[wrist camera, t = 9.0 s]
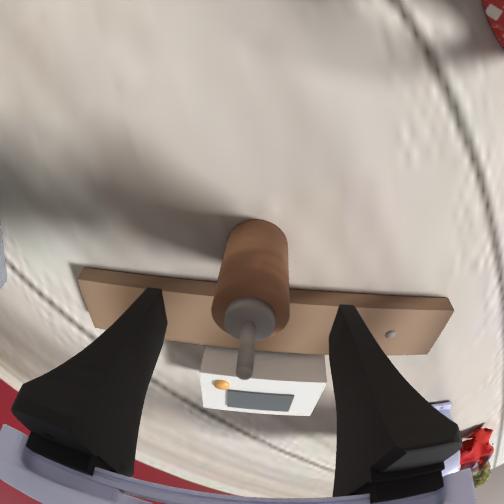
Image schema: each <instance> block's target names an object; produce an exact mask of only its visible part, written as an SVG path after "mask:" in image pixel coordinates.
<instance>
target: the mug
mask: <svg viewBox="0 0 504 504" xmlns="http://www.w3.org/2000/svg"><path fill="white" fill-rule="evenodd" d="M482 2H483V6H484V9H485V12H486V15H487V18H488V20H489V23H490V25H491V27H492V30H493V31H494V33H495V35H496V37H497V39H498V40H499V42H500V43H501V45H502V46H503V48H504V0H482Z"/></svg>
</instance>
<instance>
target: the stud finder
mask: <svg viewBox="0 0 504 504" xmlns="http://www.w3.org/2000/svg"><path fill="white" fill-rule="evenodd" d="M237 357H238V349H235V348H225V347H216V346H208V345H205V348H204V353H203V358H202V363H201V367H200V382H201V392H202V401H203V407H205V408H212V409H220V410H229V411H238V412H248V413H260V414H275V415H294V416H310V415H311V413H312V411H313V409H314V407H315V405H316V403H317V401H318V400H319V398H320V396H321V394H322V392H323V390H324V388H325V386H326V383H327V379H326V368H325V358H324V354H301V353H284V352H270V351H257V350H255V355H254V367H253V375H252V376H251V378H249V379H247V380H241V379H239V378H238V377H237V375H236V365H237Z"/></svg>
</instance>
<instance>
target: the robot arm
mask: <svg viewBox="0 0 504 504" xmlns="http://www.w3.org/2000/svg"><path fill="white" fill-rule="evenodd" d="M167 324H168V321H167V316H166V311H165V305H164V299H163V293H162V289H159V288H151V287H148V288H146V289H145V290H144V291H143V293H142V294H141V295H140V296H139V297H138V298H137V299H136V300H135V301H134V302H133V303H132V304H131V306H130V307H129V308H128V309H127V310H126V311H125V312H124V313H123V314H122V315H121V316H120V317H119V318H118V319H117V320H116V321H115V322H114V323H113V324H112V325H111V326H110V327H109V328H108V329H107V330H106V331H105V332H104V333H103V334H101V335H100V336H99V337H98V338H97V339H96V340H95V341H93V342H92V343H91V344H90V345H89V346H87V347H86V348H85V349H84V350H82V351H81V352H79V353H78V354H77V355H75V356H74V357H72V358H71V359H69V360H68V361H66V362H65V363H63V364H62V365H60V366H58V367H57V368H55V369H53V370H51V371H50V372H48V373H46V374H44V375H42V376H40V377H38V378H36V379H33V380H31V381H29V382H27V383H24V384H23V385H22V387H21V389H20V391H19V393H18V395H17V397H16V399H15V401H14V404H13V406H12V408H11V410H12V413H13V415H14V416H15V417H16V418H17V419H18V420H19V421H20V422H21V423H22V424H23V425H24V426H25V427H27V428H28V429H29V430H30V431H31V433H30V435H29V437H28V436H27V435H25V434H24V433H22V432H20V431H18V430H16V429H14V428H12V427H10V426H8V425H6V424H4V425H3V427H2V429H1V431H0V479H1V480H3V481H4V482H6V483H7V484H9V485H11V486H12V487H14V488H16V489H17V490H19V491H21V492H23V493H25V494H26V495H28V496H30V497H32V498H33V499H35V500H37V501H39V502H41V503H43V504H153V503H151V502H147V501H144V500H141V499H138V498H135V497H132V496H129V495H133V496H137V497H141V498H144V499H149V500H153V501H157V502H162V503H167V504H477V501H476V495H475V489H474V483H473V478H472V473H471V469H470V468H468V469H464V470H461V471H458V469H459V465H460V449H461V447H462V446H463V444H462V439H461V435H460V431H459V428H458V425H457V424H456V423H455V422H453V420H452V417H451V413H450V408H451V407H452V406H453V404H452V402H446V403H439V404H430V403H429V402H428V401H426V400H425V399H424V398H423V397H422V396H421V395H420V394H419V393H418V392H417V391H416V390H415V389H414V388H413V387H412V386H411V385H410V384H409V383H408V382H407V381H406V380H405V378H404V377H403V376H402V375H401V374H400V373H399V371H398V370H397V369H396V368H395V366H394V365H393V364H392V363H391V361H390V360H389V358H388V357H387V356H386V354H385V353H384V351H383V350H382V349H381V347H380V346H379V344H378V343H377V341H376V340H375V338H374V337H373V335H372V333H371V332H370V330H369V329H368V327H367V325H366V324H365V322H364V320H363V319H362V317H361V315H360V314H359V312H358V310H357V309H356V307H355V306H354V305H345V304H340V305H339V308H338V311H337V314H336V317H335V320H334V323H333V326H332V329H331V331H330V334H329V360H330V367H331V374H332V381H333V387H334V394H335V401H336V411H337V451H336V469H335V479H334V489H333V497H327V498H257V497H243V496H231V495H222V494H213V493H206V492H199V491H192V490H186V489H181V488H175V487H170V486H165V485H161V484H156V483H152V482H147V481H143V480H139V479H135V478H131V476H132V475H134V462H135V453H136V445H137V438H138V431H139V425H140V419H141V414H142V409H143V404H144V400H145V395H146V392H147V388H148V385H149V382H150V379H151V377H152V374H153V371H154V368H155V365H156V362H157V360H158V357H159V354H160V351H161V348H162V345H163V342H164V337H165V333H166V328H167ZM124 493H126V494H129V495H126V494H124Z"/></svg>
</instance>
